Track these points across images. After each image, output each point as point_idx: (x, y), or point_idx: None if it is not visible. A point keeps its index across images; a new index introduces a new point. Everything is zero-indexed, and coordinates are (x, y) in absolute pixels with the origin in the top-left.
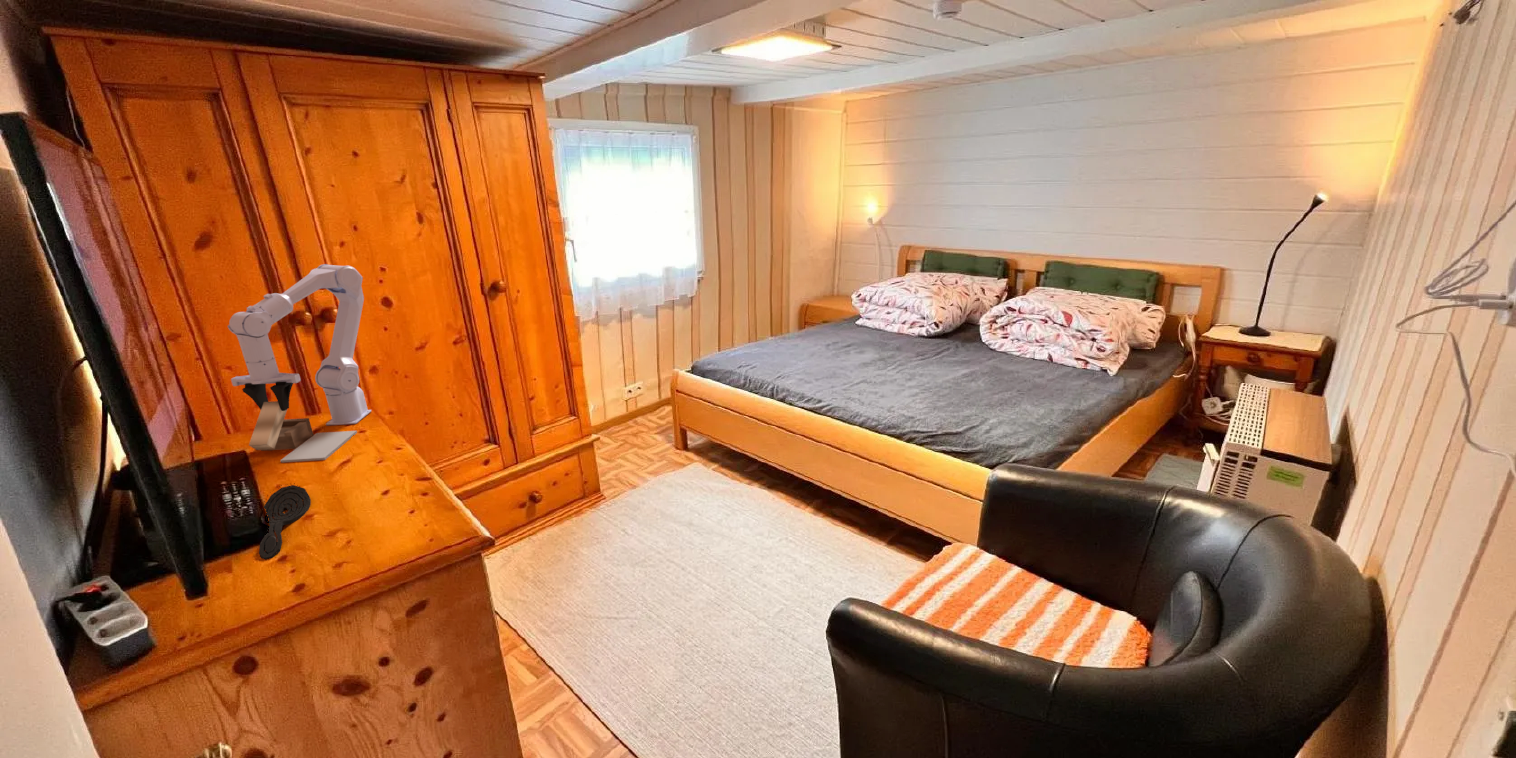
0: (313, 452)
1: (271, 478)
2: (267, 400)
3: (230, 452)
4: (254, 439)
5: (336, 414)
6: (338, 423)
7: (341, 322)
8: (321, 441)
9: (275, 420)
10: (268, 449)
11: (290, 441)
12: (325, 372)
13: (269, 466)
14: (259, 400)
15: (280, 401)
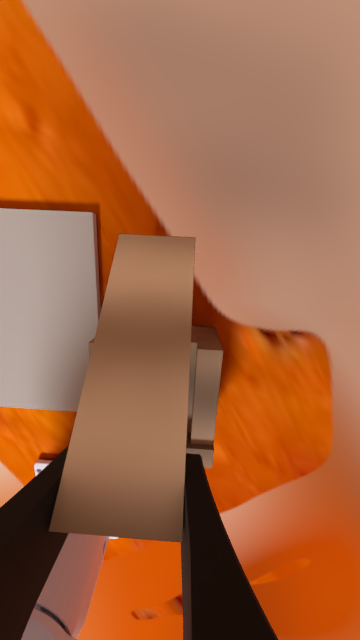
0: (17, 261)
1: (46, 64)
2: (182, 568)
3: (307, 334)
4: (176, 258)
5: None
6: None
7: None
8: (47, 346)
9: (92, 357)
10: (192, 326)
11: None
12: None
13: (117, 187)
14: (188, 554)
15: (9, 511)
